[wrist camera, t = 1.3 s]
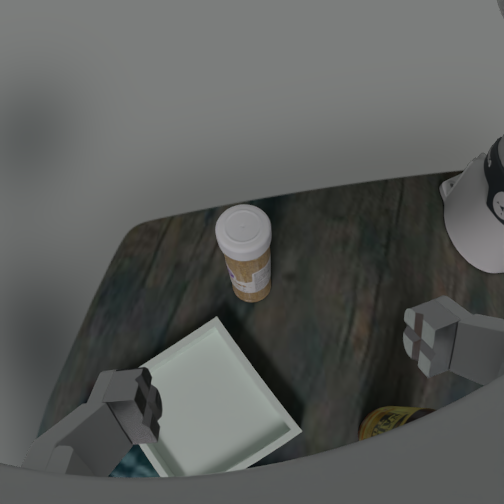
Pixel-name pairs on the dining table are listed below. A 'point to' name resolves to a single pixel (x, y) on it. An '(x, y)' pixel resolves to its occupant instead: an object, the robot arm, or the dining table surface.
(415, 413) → the sauce bottle
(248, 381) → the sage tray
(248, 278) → the sprinkles bottle
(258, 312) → the dining table surface
